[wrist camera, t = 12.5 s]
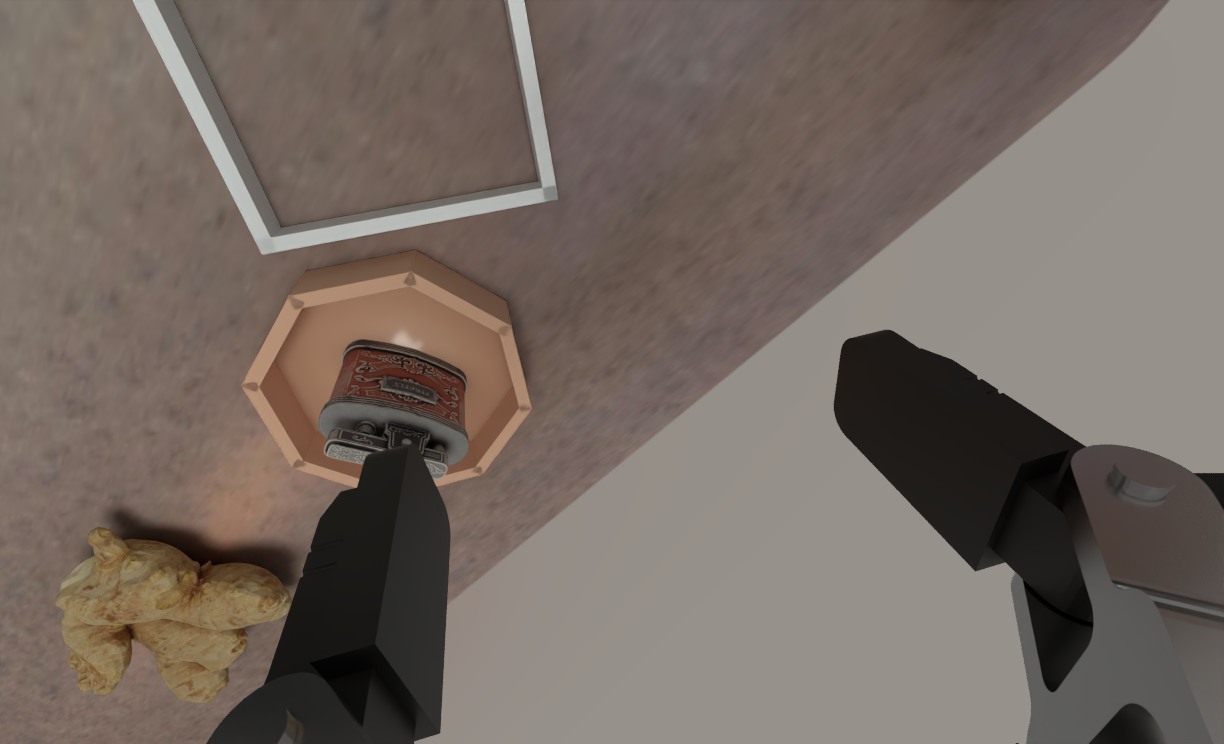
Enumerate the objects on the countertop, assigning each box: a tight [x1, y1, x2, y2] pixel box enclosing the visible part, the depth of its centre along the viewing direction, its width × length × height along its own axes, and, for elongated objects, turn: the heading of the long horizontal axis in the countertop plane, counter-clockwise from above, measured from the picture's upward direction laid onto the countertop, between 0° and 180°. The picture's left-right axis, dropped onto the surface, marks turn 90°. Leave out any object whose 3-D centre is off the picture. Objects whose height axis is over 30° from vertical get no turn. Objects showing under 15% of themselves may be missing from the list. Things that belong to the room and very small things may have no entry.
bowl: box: [241, 250, 532, 488], centre depth 34 cm, size 16×16×4 cm
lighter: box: [318, 339, 469, 480], centre depth 31 cm, size 8×3×10 cm, turn 61°
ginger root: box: [55, 527, 292, 703], centre depth 38 cm, size 16×16×8 cm
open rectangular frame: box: [133, 0, 558, 255], centre depth 27 cm, size 17×13×2 cm
